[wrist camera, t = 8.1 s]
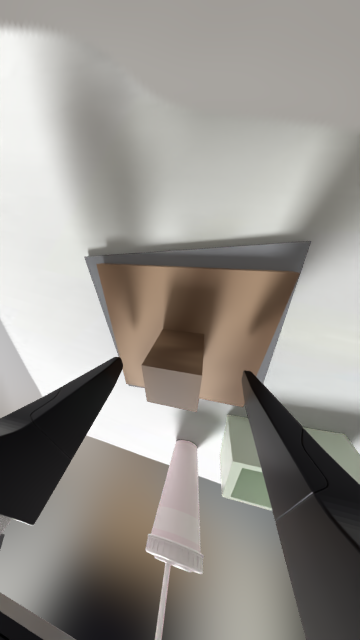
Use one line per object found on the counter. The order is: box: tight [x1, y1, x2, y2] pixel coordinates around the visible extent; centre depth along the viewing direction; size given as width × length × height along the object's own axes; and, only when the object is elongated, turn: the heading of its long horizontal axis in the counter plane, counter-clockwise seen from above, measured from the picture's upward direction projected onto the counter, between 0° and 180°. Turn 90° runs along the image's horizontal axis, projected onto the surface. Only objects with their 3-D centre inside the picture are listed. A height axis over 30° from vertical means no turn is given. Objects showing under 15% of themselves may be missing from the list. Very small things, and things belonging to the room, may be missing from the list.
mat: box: [85, 241, 311, 388], centre depth 12 cm, size 15×15×1 cm
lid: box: [96, 263, 300, 412], centre depth 10 cm, size 13×13×5 cm
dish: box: [220, 414, 360, 511], centre depth 16 cm, size 12×12×4 cm
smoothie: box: [146, 440, 204, 640], centre depth 16 cm, size 6×6×14 cm
